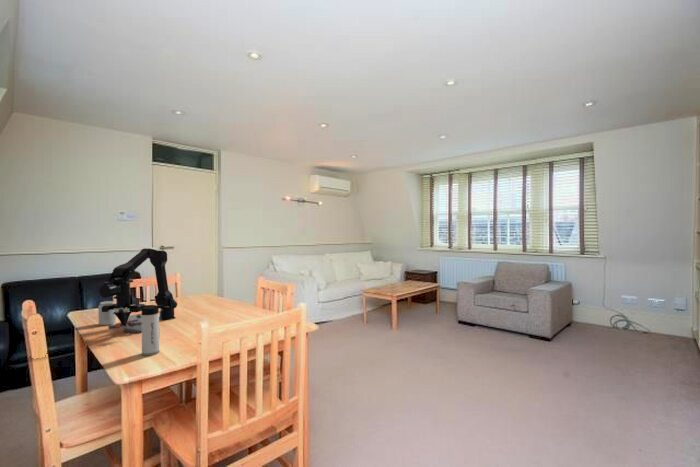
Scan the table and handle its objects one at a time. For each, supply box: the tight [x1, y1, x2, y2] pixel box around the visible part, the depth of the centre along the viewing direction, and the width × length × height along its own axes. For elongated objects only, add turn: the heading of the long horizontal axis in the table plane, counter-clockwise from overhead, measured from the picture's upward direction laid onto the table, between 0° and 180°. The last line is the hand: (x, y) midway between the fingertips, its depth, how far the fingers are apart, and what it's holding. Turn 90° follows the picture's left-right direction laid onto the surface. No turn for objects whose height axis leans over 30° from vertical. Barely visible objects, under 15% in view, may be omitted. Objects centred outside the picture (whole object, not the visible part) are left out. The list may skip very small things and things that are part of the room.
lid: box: [114, 313, 142, 328], centre depth 171 cm, size 20×15×2 cm
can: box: [97, 300, 117, 327], centre depth 183 cm, size 8×8×12 cm
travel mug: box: [140, 304, 160, 357], centre depth 141 cm, size 6×7×20 cm
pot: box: [107, 316, 163, 335], centre depth 173 cm, size 23×14×5 cm, turn 137°
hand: (124, 325), depth 163 cm, fingers closed
